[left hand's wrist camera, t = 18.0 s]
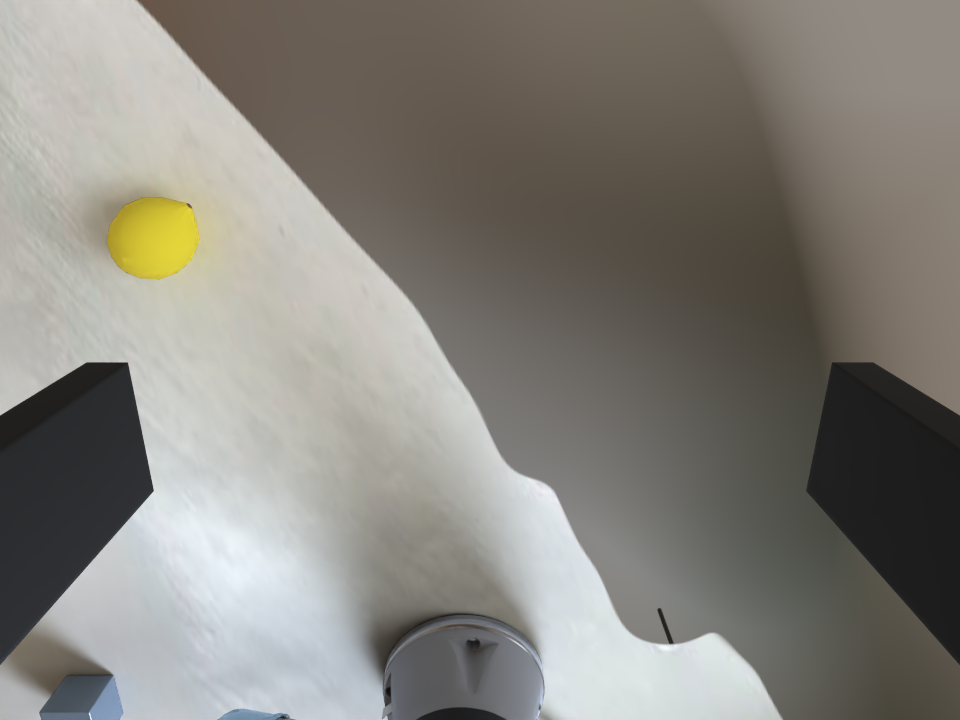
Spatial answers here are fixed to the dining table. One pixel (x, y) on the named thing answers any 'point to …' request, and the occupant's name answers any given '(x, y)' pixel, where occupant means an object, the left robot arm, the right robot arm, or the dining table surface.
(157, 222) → the lemon
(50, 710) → the block
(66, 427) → the left robot arm
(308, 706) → the dining table surface
